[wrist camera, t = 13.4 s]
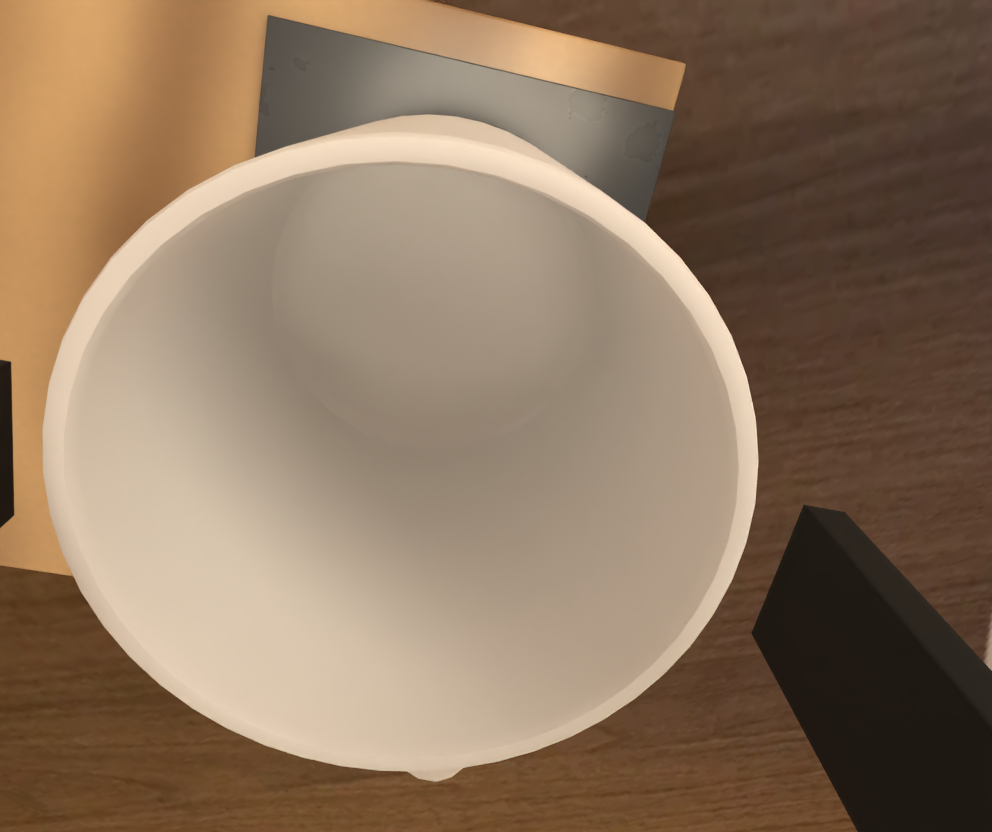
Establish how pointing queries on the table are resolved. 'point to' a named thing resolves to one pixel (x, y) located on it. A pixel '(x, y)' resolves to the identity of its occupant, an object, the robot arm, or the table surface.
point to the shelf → (253, 137)
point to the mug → (400, 449)
